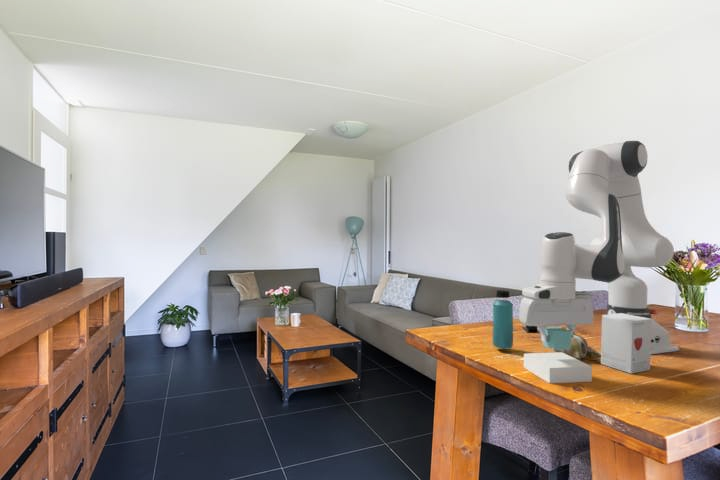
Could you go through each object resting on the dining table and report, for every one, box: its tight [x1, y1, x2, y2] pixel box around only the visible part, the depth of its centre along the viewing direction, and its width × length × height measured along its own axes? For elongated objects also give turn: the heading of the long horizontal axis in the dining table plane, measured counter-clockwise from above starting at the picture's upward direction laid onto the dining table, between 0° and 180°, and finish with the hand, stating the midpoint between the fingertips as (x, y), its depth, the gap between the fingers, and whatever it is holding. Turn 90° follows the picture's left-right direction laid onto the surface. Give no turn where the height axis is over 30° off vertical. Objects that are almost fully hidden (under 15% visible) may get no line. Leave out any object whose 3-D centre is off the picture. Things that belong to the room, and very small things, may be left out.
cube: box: [541, 326, 571, 351], centre depth 104 cm, size 5×5×5 cm
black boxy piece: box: [521, 325, 540, 334], centre depth 154 cm, size 13×8×5 cm, turn 172°
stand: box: [523, 352, 593, 384], centre depth 104 cm, size 12×12×4 cm
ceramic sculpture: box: [553, 331, 601, 361], centre depth 119 cm, size 11×9×15 cm
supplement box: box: [600, 313, 651, 375], centre depth 110 cm, size 9×9×15 cm
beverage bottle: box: [492, 289, 514, 350], centre depth 125 cm, size 6×7×20 cm
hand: (556, 341), depth 104 cm, fingers closed on cube, 5 cm apart
